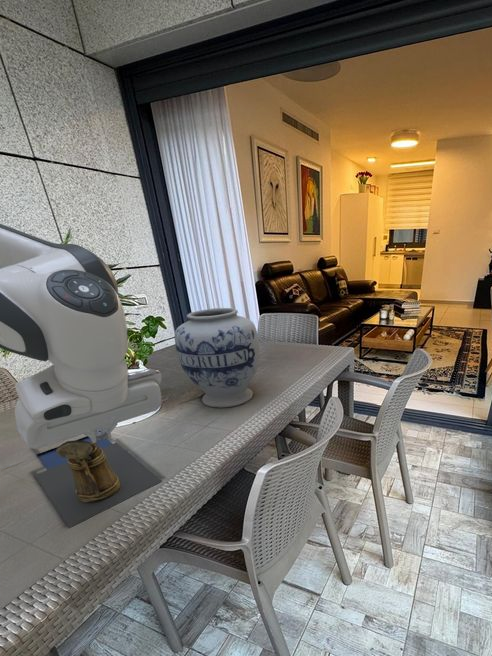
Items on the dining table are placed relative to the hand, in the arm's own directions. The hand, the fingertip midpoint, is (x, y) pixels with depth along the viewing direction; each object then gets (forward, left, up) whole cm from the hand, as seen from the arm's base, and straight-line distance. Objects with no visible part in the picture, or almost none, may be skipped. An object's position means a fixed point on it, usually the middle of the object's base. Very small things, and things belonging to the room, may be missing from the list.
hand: (100, 437), depth 62 cm
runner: (+1, +24, -21) cm, 32 cm away
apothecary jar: (+50, +39, -21) cm, 66 cm away
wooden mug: (-1, +16, -21) cm, 26 cm away
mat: (+2, +45, -21) cm, 49 cm away
